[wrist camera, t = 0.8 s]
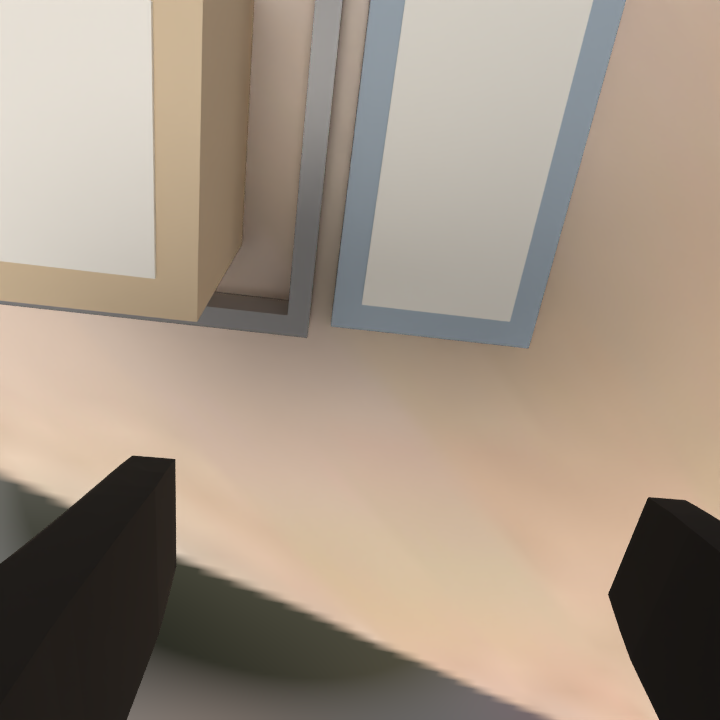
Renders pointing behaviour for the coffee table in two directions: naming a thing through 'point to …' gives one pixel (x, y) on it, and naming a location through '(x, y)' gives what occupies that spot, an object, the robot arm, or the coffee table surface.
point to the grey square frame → (296, 311)
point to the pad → (466, 162)
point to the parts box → (122, 152)
